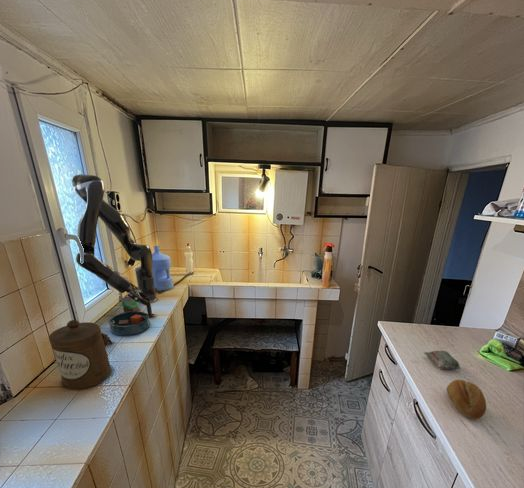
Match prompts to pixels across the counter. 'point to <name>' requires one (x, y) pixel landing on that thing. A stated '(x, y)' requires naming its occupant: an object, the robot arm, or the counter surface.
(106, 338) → the pottery mug
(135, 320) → the block
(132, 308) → the food container
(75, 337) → the wooden container
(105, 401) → the counter surface
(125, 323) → the block
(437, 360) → the packaged food
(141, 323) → the bowl
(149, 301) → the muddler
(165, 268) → the water jug
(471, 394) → the bread roll
